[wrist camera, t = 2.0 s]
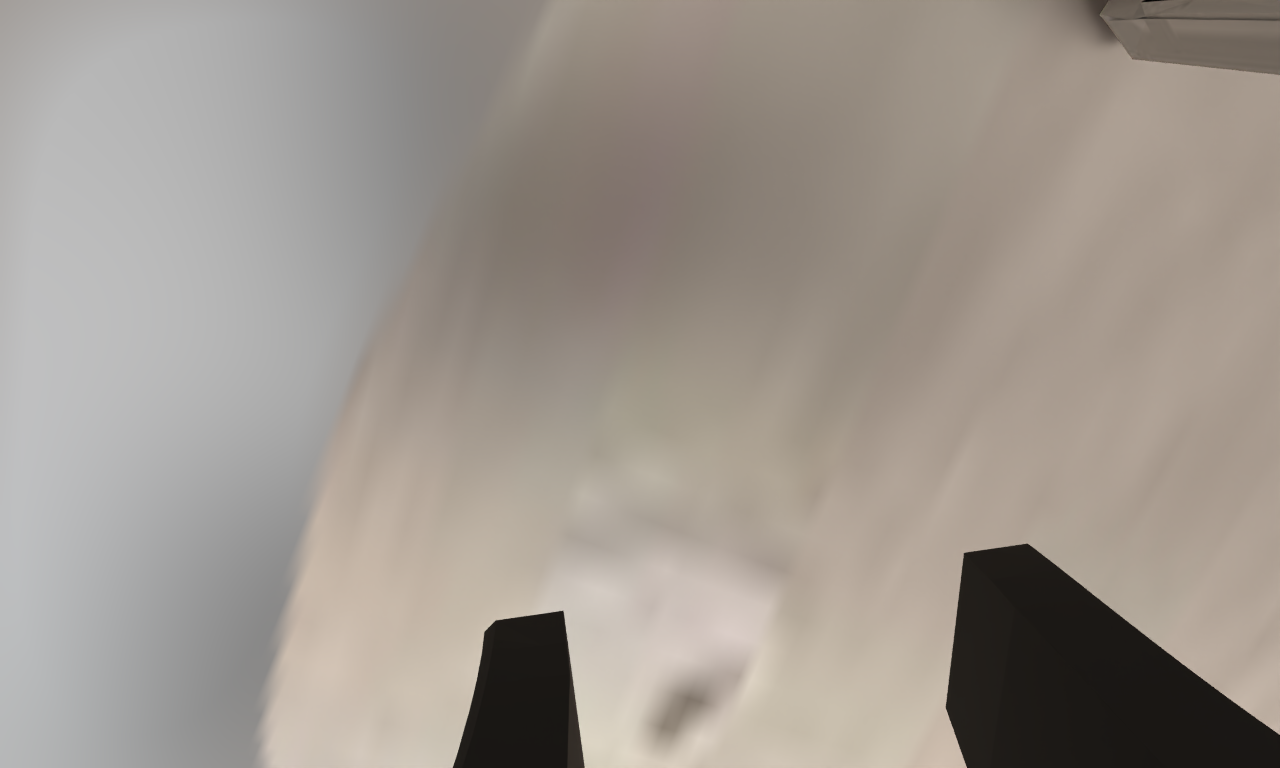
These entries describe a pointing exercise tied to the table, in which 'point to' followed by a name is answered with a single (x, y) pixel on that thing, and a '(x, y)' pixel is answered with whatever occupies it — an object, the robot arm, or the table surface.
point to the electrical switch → (1199, 32)
